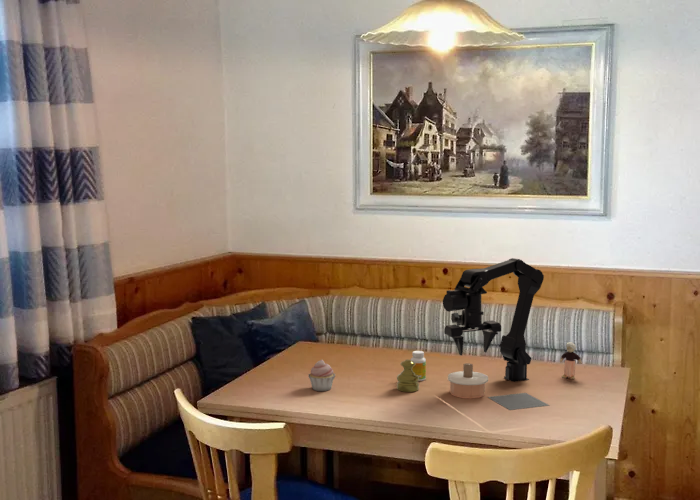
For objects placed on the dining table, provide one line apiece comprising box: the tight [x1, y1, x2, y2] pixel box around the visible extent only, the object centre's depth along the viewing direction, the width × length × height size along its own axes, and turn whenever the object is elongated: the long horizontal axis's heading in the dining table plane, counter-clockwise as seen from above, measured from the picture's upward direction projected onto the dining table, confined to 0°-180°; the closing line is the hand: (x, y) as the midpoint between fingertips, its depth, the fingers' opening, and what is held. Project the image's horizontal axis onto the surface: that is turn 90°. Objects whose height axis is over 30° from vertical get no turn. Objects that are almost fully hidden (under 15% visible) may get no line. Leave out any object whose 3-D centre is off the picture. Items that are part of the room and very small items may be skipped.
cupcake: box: [307, 359, 336, 392], centre depth 262 cm, size 9×9×10 cm
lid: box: [447, 362, 489, 385], centre depth 254 cm, size 13×13×5 cm
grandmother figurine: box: [559, 341, 583, 380], centre depth 273 cm, size 8×4×13 cm, turn 68°
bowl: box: [449, 381, 486, 399], centre depth 255 cm, size 11×11×5 cm
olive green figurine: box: [396, 359, 420, 393], centre depth 261 cm, size 7×7×10 cm
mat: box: [487, 392, 550, 411], centre depth 246 cm, size 14×14×1 cm
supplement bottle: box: [410, 350, 427, 382], centre depth 273 cm, size 5×5×10 cm
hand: (473, 353), depth 262 cm, fingers open, 9 cm apart
